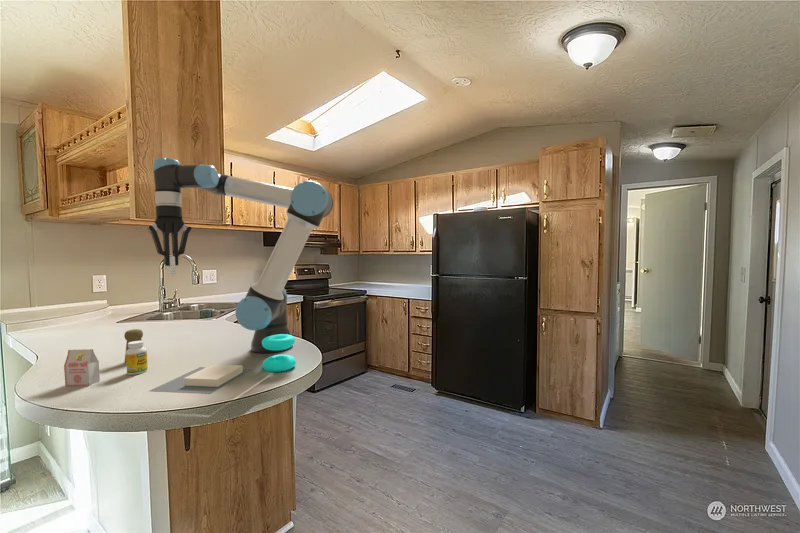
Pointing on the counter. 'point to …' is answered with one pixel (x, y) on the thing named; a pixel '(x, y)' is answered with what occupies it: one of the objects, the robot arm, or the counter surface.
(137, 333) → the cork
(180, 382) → the mat
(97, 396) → the counter surface
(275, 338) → the donuts
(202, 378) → the tile
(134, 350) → the supplement bottle
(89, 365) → the white gable carton
